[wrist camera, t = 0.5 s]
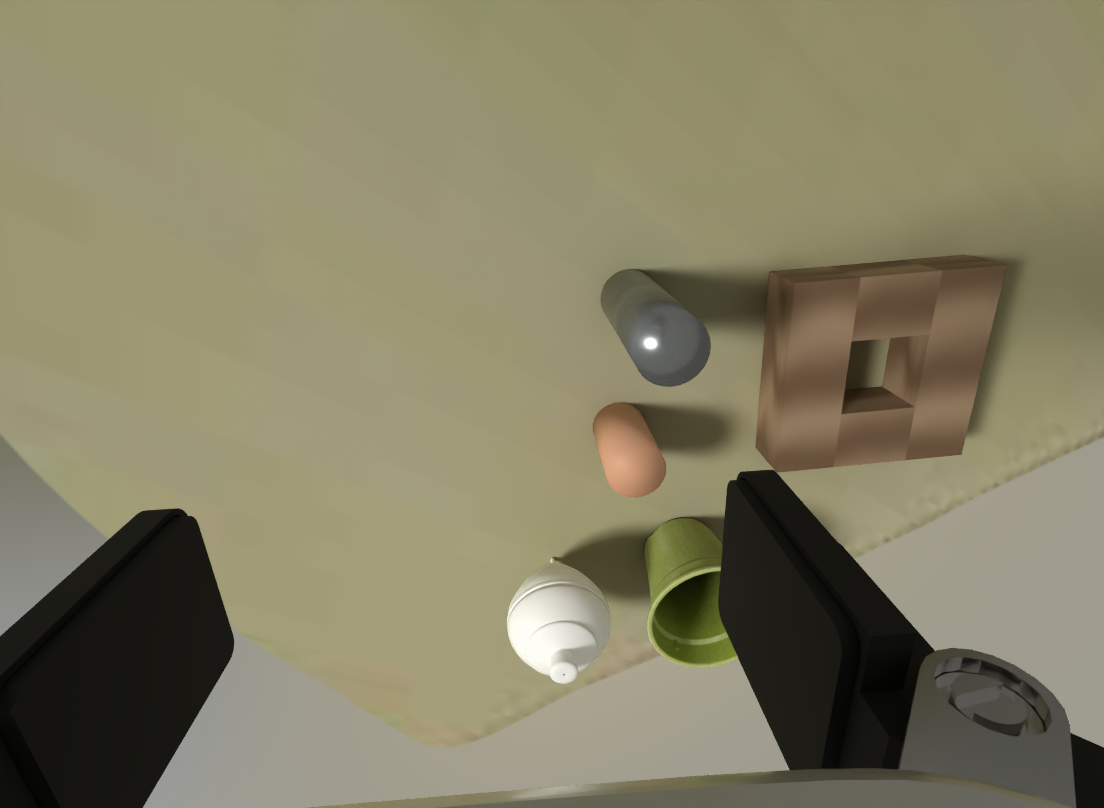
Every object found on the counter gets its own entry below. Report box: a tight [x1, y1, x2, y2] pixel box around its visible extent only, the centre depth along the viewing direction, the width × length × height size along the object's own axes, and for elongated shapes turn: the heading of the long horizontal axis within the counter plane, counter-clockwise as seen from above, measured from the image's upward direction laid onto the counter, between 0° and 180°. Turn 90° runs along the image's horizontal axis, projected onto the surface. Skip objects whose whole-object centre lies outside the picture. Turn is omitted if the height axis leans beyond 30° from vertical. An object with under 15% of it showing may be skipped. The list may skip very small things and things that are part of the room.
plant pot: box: [644, 518, 738, 668], centre depth 46 cm, size 9×9×9 cm
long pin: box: [601, 269, 711, 387], centre depth 35 cm, size 4×4×12 cm
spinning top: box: [507, 558, 611, 683], centre depth 44 cm, size 8×8×12 cm
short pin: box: [593, 403, 666, 497], centre depth 42 cm, size 4×4×7 cm
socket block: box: [756, 255, 1007, 472], centre depth 42 cm, size 14×14×4 cm
